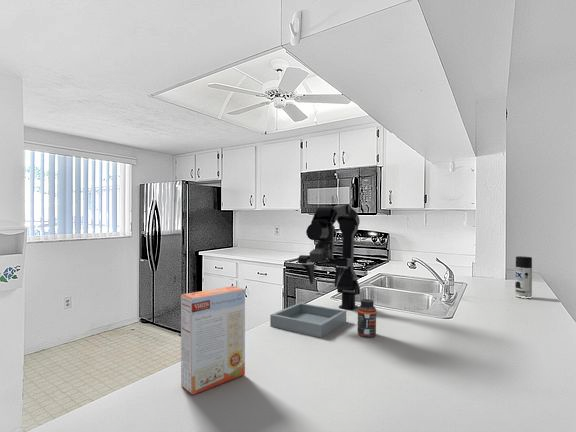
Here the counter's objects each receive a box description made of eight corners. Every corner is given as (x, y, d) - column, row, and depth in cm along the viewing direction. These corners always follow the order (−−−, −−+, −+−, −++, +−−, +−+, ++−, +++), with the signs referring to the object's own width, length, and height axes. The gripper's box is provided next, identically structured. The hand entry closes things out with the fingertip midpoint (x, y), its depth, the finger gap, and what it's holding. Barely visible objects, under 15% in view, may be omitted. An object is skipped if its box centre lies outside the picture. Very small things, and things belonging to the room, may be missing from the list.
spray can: (511, 296, 167) (512, 256, 167) (524, 295, 167) (524, 256, 167) (522, 299, 160) (522, 257, 160) (535, 299, 161) (535, 257, 161)
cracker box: (231, 367, 84) (232, 284, 84) (245, 375, 80) (246, 288, 80) (179, 385, 75) (180, 292, 75) (191, 396, 70) (192, 297, 70)
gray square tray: (299, 312, 133) (299, 302, 133) (346, 321, 123) (346, 310, 123) (270, 326, 117) (270, 314, 117) (321, 337, 106) (321, 325, 106)
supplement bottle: (371, 339, 105) (371, 303, 105) (354, 335, 108) (354, 300, 108) (378, 334, 110) (379, 299, 110) (362, 330, 113) (362, 297, 113)
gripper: (291, 239, 117) (289, 284, 116) (342, 241, 108) (340, 290, 107) (305, 240, 127) (303, 281, 125) (353, 242, 118) (351, 287, 116)
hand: (323, 285), depth 118 cm, fingers open, 9 cm apart
